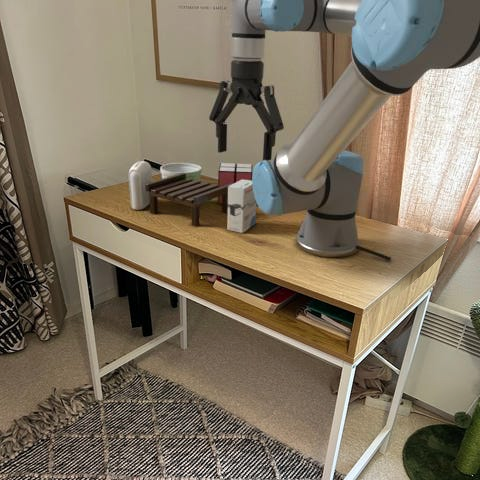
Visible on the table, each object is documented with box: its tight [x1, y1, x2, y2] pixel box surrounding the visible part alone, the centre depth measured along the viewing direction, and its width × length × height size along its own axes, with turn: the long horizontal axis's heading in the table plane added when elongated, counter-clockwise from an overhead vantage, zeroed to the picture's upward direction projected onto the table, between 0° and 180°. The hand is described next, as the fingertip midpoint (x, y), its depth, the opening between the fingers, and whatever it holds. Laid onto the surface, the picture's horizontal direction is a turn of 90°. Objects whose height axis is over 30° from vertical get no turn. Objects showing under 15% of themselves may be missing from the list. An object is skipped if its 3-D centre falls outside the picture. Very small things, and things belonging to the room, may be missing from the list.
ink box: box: [226, 179, 257, 234], centre depth 128 cm, size 8×5×12 cm, turn 154°
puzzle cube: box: [217, 162, 253, 205], centre depth 148 cm, size 10×10×10 cm
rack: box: [145, 173, 232, 227], centre depth 137 cm, size 19×16×8 cm
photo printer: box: [128, 160, 153, 211], centre depth 140 cm, size 10×4×12 cm, turn 170°
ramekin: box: [159, 162, 203, 181], centre depth 157 cm, size 13×13×7 cm
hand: (244, 156), depth 121 cm, fingers open, 13 cm apart
